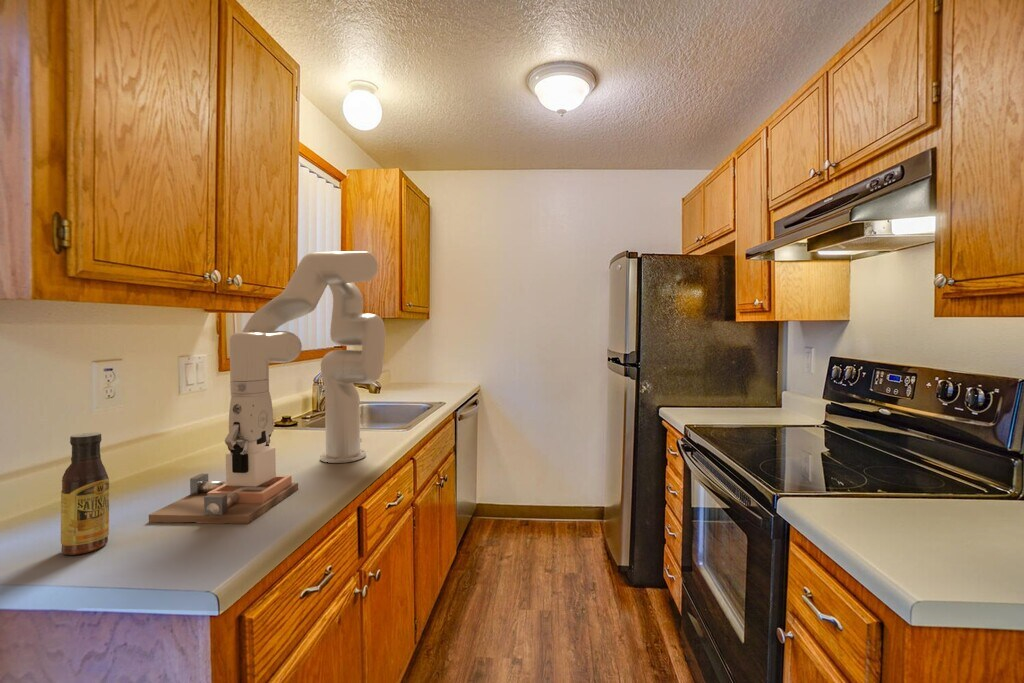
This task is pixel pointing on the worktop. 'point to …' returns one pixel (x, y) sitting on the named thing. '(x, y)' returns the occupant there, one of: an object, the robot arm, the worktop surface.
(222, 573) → the worktop surface
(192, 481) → the square clamping fixture
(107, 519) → the sauce bottle
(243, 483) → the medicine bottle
